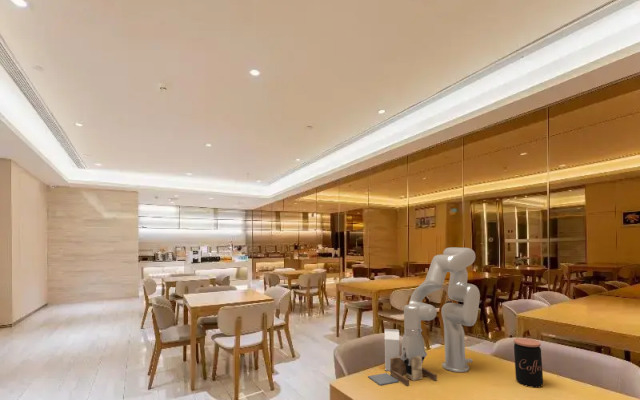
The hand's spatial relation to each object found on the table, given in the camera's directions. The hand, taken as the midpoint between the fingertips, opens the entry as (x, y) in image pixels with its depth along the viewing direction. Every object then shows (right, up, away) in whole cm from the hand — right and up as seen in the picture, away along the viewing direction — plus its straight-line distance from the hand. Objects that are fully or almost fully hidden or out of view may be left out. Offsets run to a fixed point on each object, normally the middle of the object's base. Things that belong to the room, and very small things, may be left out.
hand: (414, 372), depth 161 cm
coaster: (-15, -2, -2) cm, 15 cm away
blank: (0, -2, 0) cm, 3 cm away
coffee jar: (+50, -3, -5) cm, 51 cm away
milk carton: (-8, -4, +12) cm, 14 cm away
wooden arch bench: (0, -3, -1) cm, 3 cm away
